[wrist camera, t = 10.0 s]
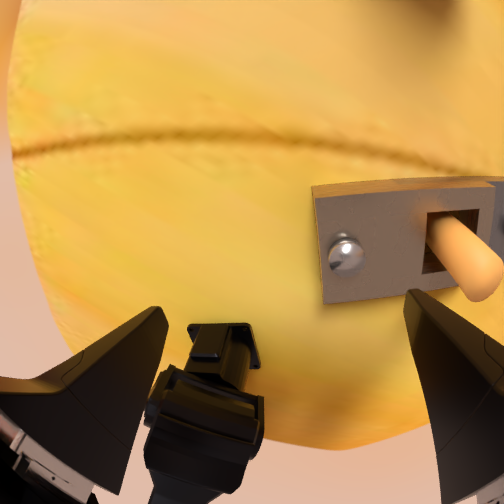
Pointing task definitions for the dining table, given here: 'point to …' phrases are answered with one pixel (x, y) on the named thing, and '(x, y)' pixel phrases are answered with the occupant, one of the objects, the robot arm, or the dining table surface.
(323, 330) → the dining table surface
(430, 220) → the connecting pin
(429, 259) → the grey peg hole base
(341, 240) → the gray switch cover plate
